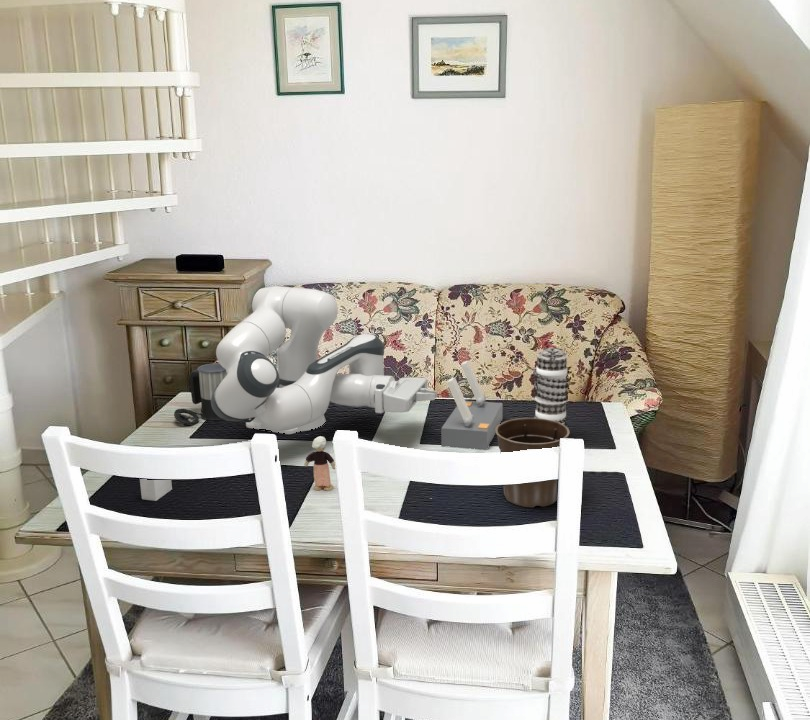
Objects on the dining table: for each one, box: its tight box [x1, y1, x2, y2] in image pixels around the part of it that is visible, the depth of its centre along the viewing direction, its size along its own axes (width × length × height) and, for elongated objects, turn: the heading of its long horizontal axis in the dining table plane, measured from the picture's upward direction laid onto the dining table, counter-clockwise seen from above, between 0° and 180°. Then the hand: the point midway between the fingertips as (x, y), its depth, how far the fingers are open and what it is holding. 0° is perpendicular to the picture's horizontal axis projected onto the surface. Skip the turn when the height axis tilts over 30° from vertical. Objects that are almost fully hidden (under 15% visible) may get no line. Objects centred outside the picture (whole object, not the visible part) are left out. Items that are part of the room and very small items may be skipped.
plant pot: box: [495, 417, 570, 508], centre depth 195 cm, size 16×16×16 cm
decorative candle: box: [532, 347, 571, 427], centre depth 227 cm, size 9×9×25 cm
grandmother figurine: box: [303, 435, 336, 491], centre depth 203 cm, size 8×4×13 cm, turn 89°
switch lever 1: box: [446, 377, 474, 426], centre depth 228 cm, size 2×4×13 cm, turn 164°
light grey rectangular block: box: [139, 478, 173, 502], centre depth 202 cm, size 4×7×10 cm, turn 162°
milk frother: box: [173, 362, 227, 426], centre depth 252 cm, size 14×16×15 cm
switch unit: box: [440, 400, 504, 450], centre depth 238 cm, size 12×24×5 cm, turn 164°
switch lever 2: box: [460, 360, 487, 406], centre depth 244 cm, size 2×4×13 cm, turn 164°
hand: (435, 395), depth 229 cm, fingers closed
